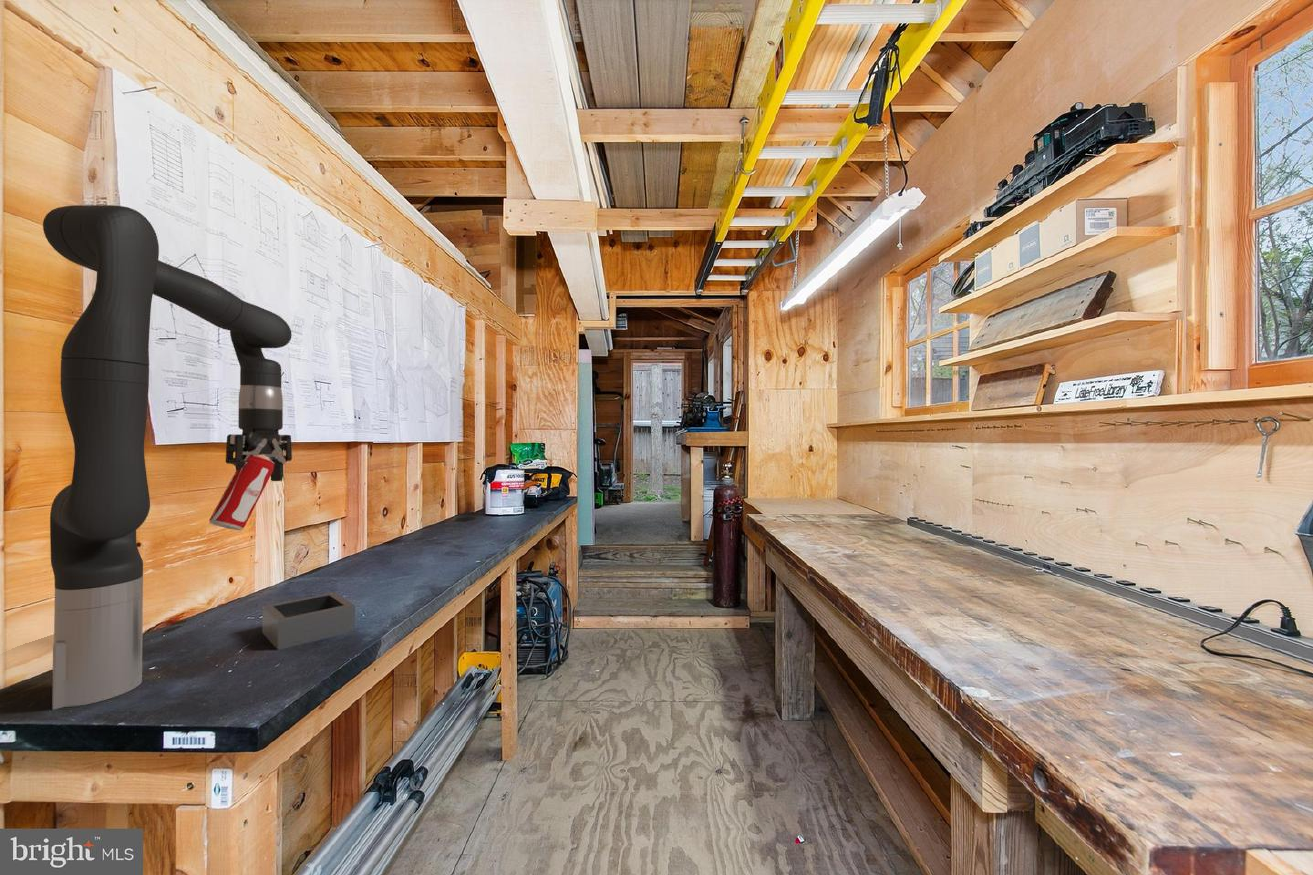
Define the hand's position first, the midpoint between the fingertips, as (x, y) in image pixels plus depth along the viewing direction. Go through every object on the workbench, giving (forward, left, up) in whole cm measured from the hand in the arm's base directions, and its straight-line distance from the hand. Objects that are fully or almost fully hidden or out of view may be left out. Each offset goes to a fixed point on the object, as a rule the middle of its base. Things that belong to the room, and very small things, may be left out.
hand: (260, 482), depth 108 cm
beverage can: (-6, -5, -9) cm, 11 cm away
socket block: (+6, -13, -31) cm, 34 cm away
